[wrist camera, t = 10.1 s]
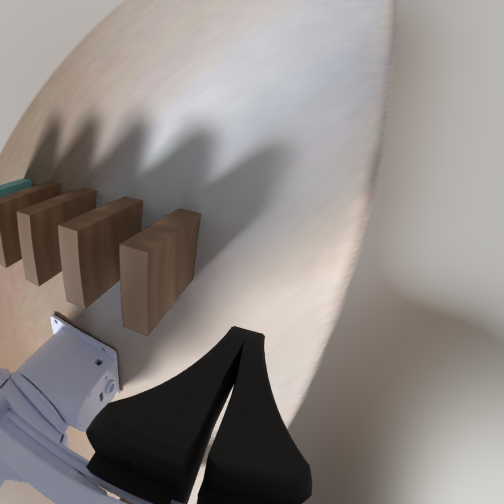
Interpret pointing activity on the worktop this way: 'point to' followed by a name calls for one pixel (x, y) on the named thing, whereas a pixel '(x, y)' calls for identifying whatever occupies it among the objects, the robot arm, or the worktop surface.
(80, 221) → the domino
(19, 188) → the domino
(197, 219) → the domino
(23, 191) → the domino
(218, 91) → the worktop surface
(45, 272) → the domino
